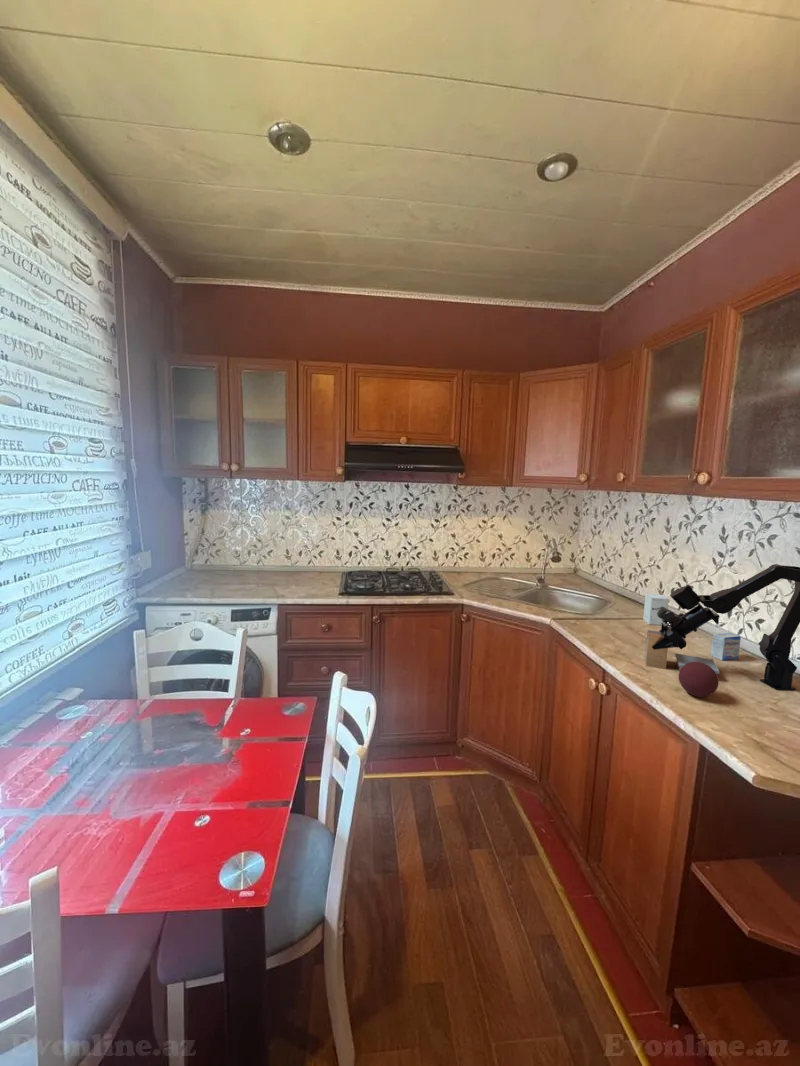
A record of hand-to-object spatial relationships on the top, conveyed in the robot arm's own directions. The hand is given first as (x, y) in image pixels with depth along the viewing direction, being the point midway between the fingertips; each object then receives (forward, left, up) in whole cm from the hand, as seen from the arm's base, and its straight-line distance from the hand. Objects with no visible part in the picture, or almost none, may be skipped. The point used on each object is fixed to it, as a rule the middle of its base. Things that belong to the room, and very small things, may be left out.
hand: (652, 645), depth 156 cm
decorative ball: (-23, 0, -7) cm, 24 cm away
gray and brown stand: (-6, -12, -7) cm, 15 cm away
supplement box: (+44, -29, -7) cm, 54 cm away
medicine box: (+5, -31, -7) cm, 32 cm away
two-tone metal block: (-1, -1, -7) cm, 7 cm away
